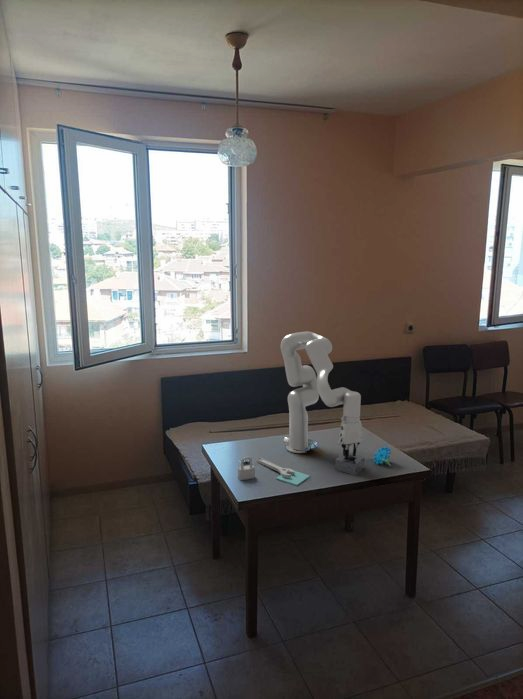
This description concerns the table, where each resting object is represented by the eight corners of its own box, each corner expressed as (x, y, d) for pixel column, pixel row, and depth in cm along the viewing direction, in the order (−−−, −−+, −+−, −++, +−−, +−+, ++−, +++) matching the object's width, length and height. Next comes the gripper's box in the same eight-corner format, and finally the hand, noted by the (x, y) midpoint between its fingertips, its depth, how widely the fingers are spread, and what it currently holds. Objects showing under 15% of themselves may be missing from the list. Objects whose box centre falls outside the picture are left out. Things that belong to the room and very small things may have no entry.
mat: (276, 479, 220) (276, 477, 220) (289, 470, 228) (289, 469, 228) (297, 485, 213) (297, 484, 213) (310, 476, 222) (310, 475, 222)
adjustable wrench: (255, 461, 239) (255, 458, 238) (266, 458, 242) (266, 455, 242) (286, 479, 218) (286, 475, 218) (297, 475, 222) (297, 471, 221)
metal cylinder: (348, 466, 228) (349, 441, 226) (344, 463, 231) (345, 439, 229) (354, 465, 230) (355, 440, 227) (350, 462, 233) (351, 438, 230)
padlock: (240, 481, 218) (240, 459, 216) (237, 477, 222) (237, 456, 220) (255, 478, 221) (255, 457, 219) (252, 474, 224) (252, 453, 223)
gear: (369, 455, 242) (384, 442, 240) (376, 462, 243) (391, 449, 242) (377, 467, 231) (393, 453, 230) (384, 475, 233) (400, 461, 232)
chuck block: (335, 469, 230) (335, 459, 229) (344, 462, 238) (345, 452, 237) (354, 475, 224) (355, 464, 223) (364, 467, 232) (364, 457, 231)
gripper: (340, 423, 219) (338, 462, 223) (371, 418, 226) (368, 456, 230) (331, 418, 226) (329, 455, 230) (361, 413, 233) (359, 450, 236)
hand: (349, 455), depth 230 cm, fingers closed on metal cylinder, 3 cm apart
